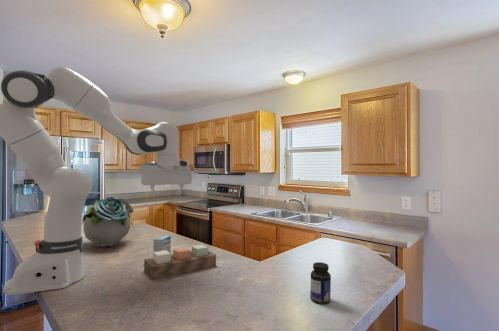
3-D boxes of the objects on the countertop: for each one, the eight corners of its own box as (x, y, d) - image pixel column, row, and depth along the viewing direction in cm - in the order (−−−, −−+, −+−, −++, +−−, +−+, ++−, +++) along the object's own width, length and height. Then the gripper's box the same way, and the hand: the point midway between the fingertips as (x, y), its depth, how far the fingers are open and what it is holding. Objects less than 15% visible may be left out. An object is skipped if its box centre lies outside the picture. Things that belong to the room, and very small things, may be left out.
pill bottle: (326, 295, 90) (327, 261, 91) (333, 304, 84) (333, 268, 84) (308, 295, 90) (308, 261, 90) (312, 304, 84) (313, 268, 84)
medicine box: (162, 259, 122) (162, 239, 122) (152, 258, 123) (153, 238, 123) (170, 254, 129) (171, 235, 130) (161, 253, 130) (162, 234, 130)
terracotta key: (177, 263, 108) (178, 252, 108) (172, 260, 112) (173, 249, 112) (189, 261, 111) (190, 250, 111) (184, 258, 115) (184, 247, 115)
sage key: (196, 260, 113) (197, 249, 113) (191, 256, 117) (191, 246, 117) (207, 258, 116) (207, 247, 116) (202, 255, 120) (202, 244, 120)
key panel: (152, 279, 100) (152, 267, 100) (143, 271, 108) (144, 259, 108) (215, 266, 115) (216, 255, 115) (204, 259, 123) (204, 249, 123)
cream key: (157, 267, 103) (157, 255, 103) (152, 264, 107) (153, 252, 107) (170, 265, 106) (170, 253, 106) (165, 261, 110) (165, 250, 110)
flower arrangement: (141, 239, 154) (142, 195, 154) (118, 253, 129) (120, 200, 129) (96, 238, 154) (97, 194, 154) (65, 251, 129) (67, 198, 129)
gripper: (141, 161, 108) (141, 197, 108) (193, 162, 117) (193, 195, 117) (139, 161, 114) (139, 195, 114) (189, 162, 123) (189, 193, 123)
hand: (167, 195), depth 116 cm, fingers open, 8 cm apart
